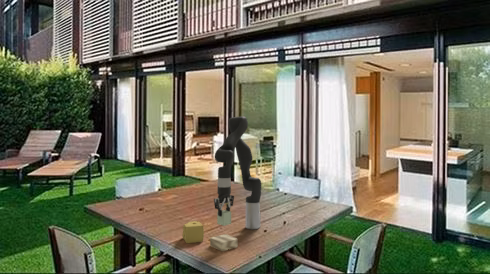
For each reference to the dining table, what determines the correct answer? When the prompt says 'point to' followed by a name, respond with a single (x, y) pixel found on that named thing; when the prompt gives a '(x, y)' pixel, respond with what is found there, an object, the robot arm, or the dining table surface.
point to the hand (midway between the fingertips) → (224, 215)
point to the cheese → (193, 232)
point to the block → (224, 218)
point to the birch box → (223, 242)
